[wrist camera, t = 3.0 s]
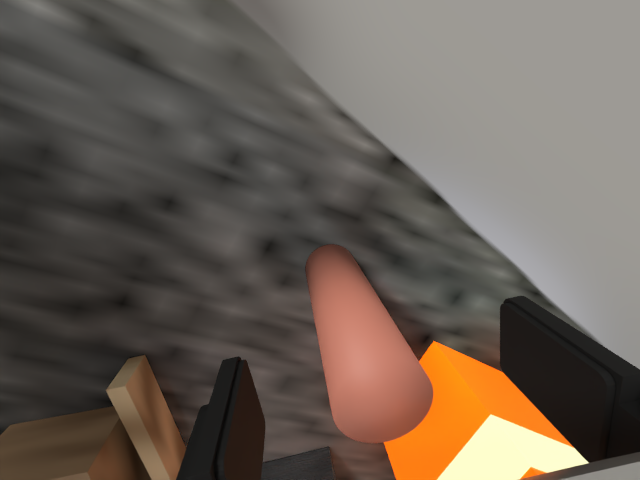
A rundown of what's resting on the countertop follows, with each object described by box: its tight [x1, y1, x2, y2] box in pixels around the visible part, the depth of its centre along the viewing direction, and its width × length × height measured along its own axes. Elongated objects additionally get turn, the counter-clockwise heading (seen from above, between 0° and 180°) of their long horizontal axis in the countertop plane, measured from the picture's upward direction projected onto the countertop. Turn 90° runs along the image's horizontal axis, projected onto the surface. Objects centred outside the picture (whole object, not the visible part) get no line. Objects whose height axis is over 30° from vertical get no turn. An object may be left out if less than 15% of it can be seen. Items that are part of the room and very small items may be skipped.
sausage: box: [305, 244, 433, 443], centre depth 14 cm, size 3×3×10 cm
